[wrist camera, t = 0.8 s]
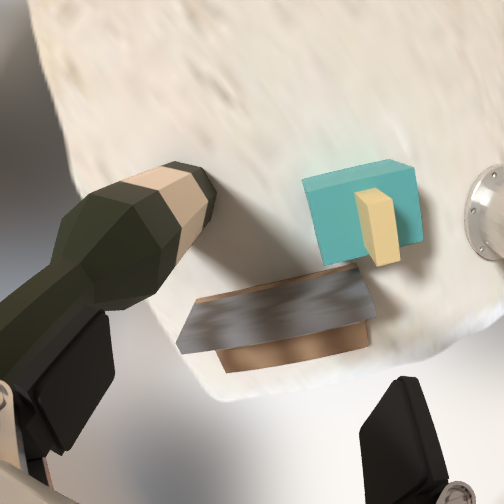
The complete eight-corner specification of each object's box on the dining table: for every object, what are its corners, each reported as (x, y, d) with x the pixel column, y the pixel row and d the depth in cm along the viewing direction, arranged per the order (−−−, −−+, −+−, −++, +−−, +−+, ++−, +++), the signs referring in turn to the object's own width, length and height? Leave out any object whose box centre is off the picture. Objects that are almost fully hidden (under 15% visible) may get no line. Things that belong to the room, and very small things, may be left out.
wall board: (355, 263, 35) (374, 303, 27) (366, 340, 39) (381, 387, 31) (196, 299, 39) (175, 342, 31) (227, 367, 43) (216, 414, 35)
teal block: (389, 159, 30) (436, 175, 20) (399, 219, 33) (443, 259, 22) (301, 179, 32) (310, 204, 22) (316, 239, 35) (330, 289, 24)
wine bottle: (222, 228, 35) (85, 491, 7) (155, 236, 36) (-25, 434, 9) (210, 154, 32) (-56, 297, 4) (141, 167, 33) (-109, 294, 6)
